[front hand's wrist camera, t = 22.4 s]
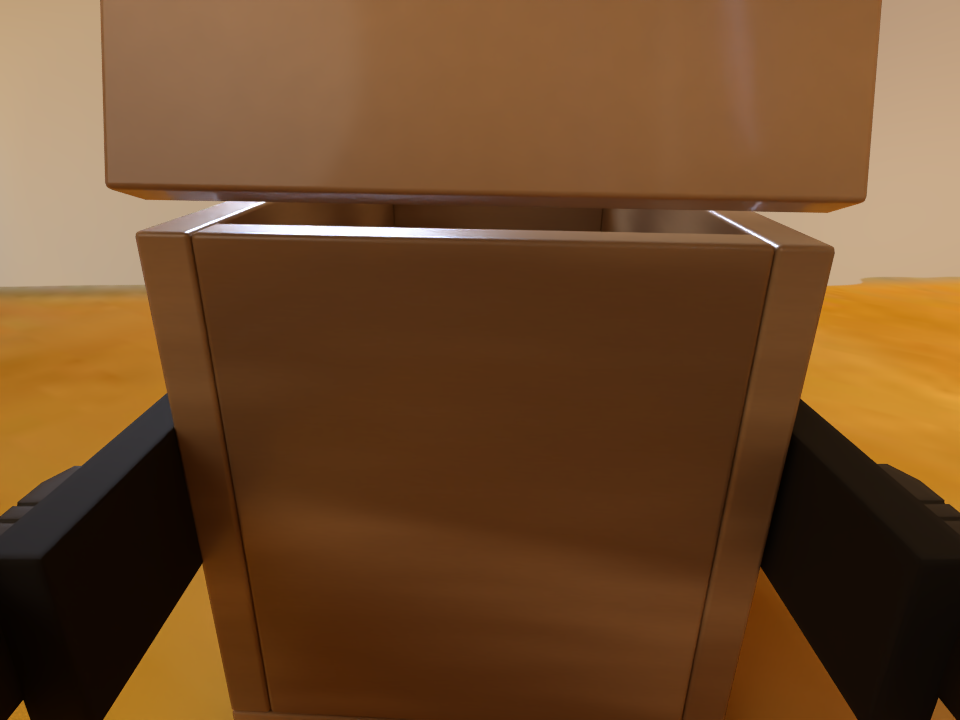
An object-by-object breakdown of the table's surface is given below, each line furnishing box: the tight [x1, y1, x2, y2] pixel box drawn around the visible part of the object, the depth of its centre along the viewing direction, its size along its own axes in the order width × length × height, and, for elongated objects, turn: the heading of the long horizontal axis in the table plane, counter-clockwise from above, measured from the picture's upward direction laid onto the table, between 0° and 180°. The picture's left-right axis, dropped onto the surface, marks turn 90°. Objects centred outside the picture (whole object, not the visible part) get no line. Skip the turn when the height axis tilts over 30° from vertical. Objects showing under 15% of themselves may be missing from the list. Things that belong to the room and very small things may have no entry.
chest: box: [136, 201, 835, 720], centre depth 18 cm, size 16×10×10 cm, turn 177°
